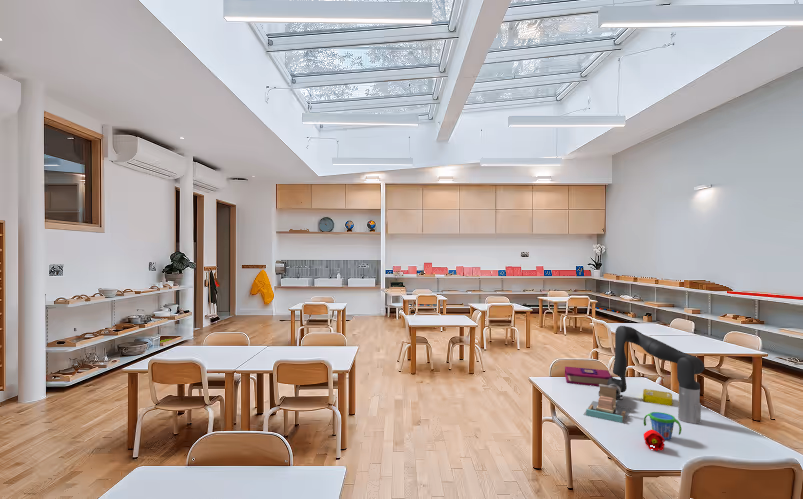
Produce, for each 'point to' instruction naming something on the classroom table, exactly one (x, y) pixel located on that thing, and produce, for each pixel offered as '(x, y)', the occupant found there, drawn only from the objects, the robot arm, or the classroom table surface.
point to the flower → (654, 440)
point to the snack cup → (663, 424)
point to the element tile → (657, 397)
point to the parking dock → (618, 410)
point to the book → (586, 376)
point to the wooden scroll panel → (607, 399)
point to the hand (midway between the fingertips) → (608, 399)
